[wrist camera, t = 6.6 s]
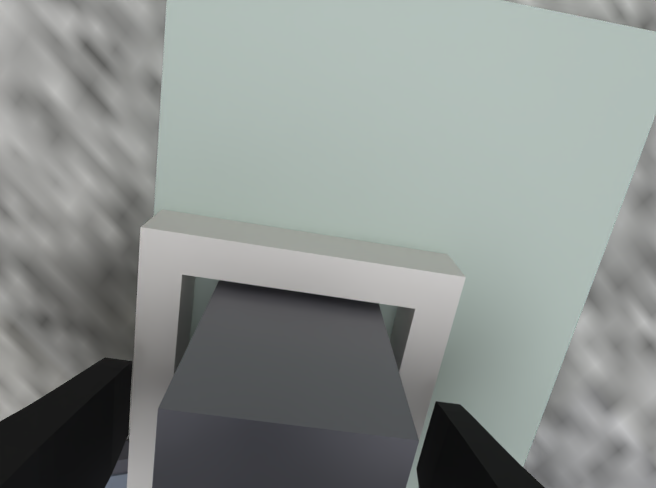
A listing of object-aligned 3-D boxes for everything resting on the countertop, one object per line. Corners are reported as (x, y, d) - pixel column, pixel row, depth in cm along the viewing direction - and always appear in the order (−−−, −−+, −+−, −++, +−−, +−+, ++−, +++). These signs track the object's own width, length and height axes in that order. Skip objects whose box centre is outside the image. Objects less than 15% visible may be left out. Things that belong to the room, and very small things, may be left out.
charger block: (346, 407, 14) (370, 637, 8) (212, 389, 14) (137, 617, 8) (373, 285, 13) (423, 455, 7) (227, 263, 13) (151, 422, 7)
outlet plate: (485, 515, 17) (513, 587, 15) (146, 477, 16) (116, 548, 14) (655, 40, 12) (742, 30, 10) (182, -55, 11) (146, -94, 9)
